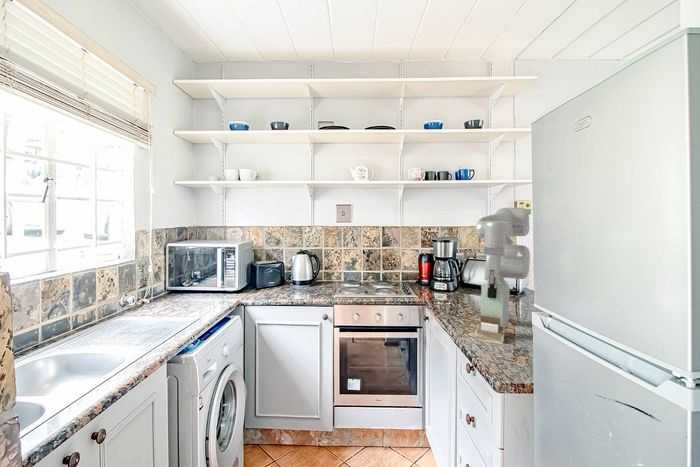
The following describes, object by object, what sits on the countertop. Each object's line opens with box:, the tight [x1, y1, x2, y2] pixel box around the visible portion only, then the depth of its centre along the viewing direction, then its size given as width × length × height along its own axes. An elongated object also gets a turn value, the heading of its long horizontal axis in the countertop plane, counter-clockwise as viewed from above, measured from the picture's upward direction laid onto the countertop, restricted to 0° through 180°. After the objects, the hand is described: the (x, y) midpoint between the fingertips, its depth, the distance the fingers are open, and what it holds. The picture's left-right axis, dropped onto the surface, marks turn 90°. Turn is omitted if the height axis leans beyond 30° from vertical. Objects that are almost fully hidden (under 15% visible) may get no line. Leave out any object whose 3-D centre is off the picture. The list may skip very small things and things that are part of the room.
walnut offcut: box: [479, 314, 500, 331], centre depth 122 cm, size 2×7×8 cm, turn 61°
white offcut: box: [480, 321, 498, 333], centre depth 119 cm, size 2×6×6 cm, turn 61°
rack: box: [474, 322, 505, 345], centre depth 122 cm, size 11×10×5 cm
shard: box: [467, 320, 478, 326], centre depth 142 cm, size 11×8×2 cm
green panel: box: [480, 282, 504, 326], centre depth 124 cm, size 2×8×16 cm, turn 61°
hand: (492, 296), depth 124 cm, fingers closed on green panel, 2 cm apart
